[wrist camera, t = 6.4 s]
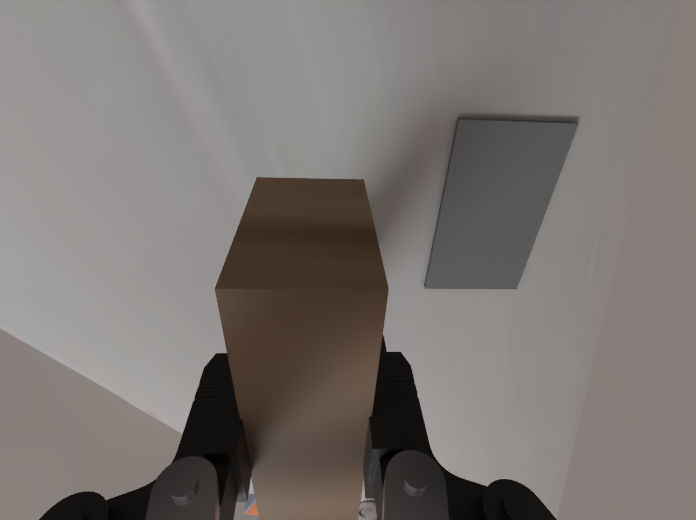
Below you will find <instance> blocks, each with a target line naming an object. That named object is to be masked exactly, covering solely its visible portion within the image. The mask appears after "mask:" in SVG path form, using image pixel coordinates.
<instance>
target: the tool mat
mask: <svg viewBox="0 0 696 520" xmlns="http://www.w3.org/2000/svg"><path fill="white" fill-rule="evenodd" d="M577 125H578V124H577V123H575V122H551V121H523V120H495V119H468V118H458V119H457V124H456V129H455V134H454V139H453V144H452V149H451V154H450V159H449V164H448V169H447V174H446V179H445V184H444V189H443V194H442V199H441V204H440V209H439V214H438V219H437V224H436V229H435V234H434V239H433V244H432V249H431V254H430V259H429V264H428V269H427V274H426V279H425V284H424V287H425V289H517V286H518V284H519V281H520V278H521V276H522V273H523V270H524V267H525V265H526V262H527V259H528V257H529V254H530V251H531V249H532V246H533V243H534V241H535V238H536V235H537V233H538V230H539V227H540V225H541V222H542V219H543V217H544V214H545V211H546V209H547V206H548V203H549V201H550V198H551V195H552V192H553V190H554V187H555V184H556V182H557V179H558V176H559V174H560V171H561V168H562V166H563V163H564V160H565V158H566V155H567V152H568V150H569V147H570V144H571V142H572V139H573V136H574V134H575V131H576V128H577Z"/></svg>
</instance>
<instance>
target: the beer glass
mask: <svg viewBox="0 0 696 520" xmlns="http://www.w3.org/2000/svg"><path fill="white" fill-rule="evenodd" d="M358 520H377V514H376V505H375V502H370V501H369V502H361V503H360V510H359V517H358Z"/></svg>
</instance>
